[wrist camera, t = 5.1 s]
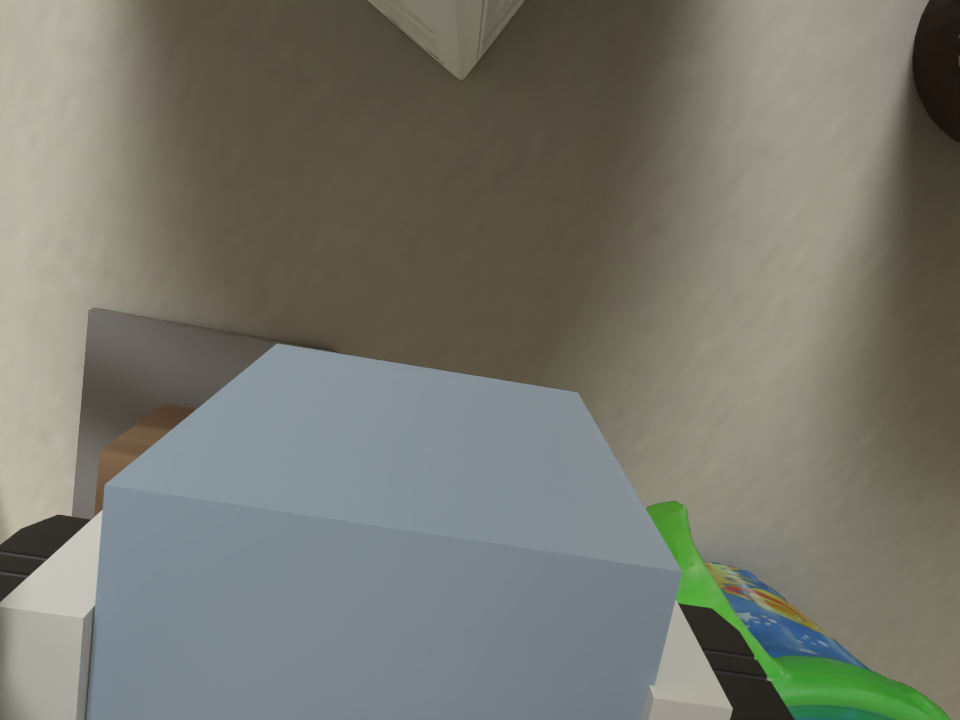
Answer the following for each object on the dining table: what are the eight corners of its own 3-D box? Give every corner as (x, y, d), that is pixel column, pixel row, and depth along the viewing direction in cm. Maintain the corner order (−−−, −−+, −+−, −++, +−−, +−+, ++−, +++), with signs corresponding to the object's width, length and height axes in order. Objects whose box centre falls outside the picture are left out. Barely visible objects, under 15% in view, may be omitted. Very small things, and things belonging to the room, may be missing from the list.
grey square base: (94, 308, 26) (5, 339, 21) (335, 351, 27) (304, 391, 21) (76, 528, 28) (-11, 606, 23) (302, 565, 28) (266, 649, 23)
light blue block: (277, 343, 13) (105, 484, 7) (578, 392, 14) (682, 571, 7) (243, 619, 14) (66, 966, 8) (523, 658, 15) (571, 1025, 8)
